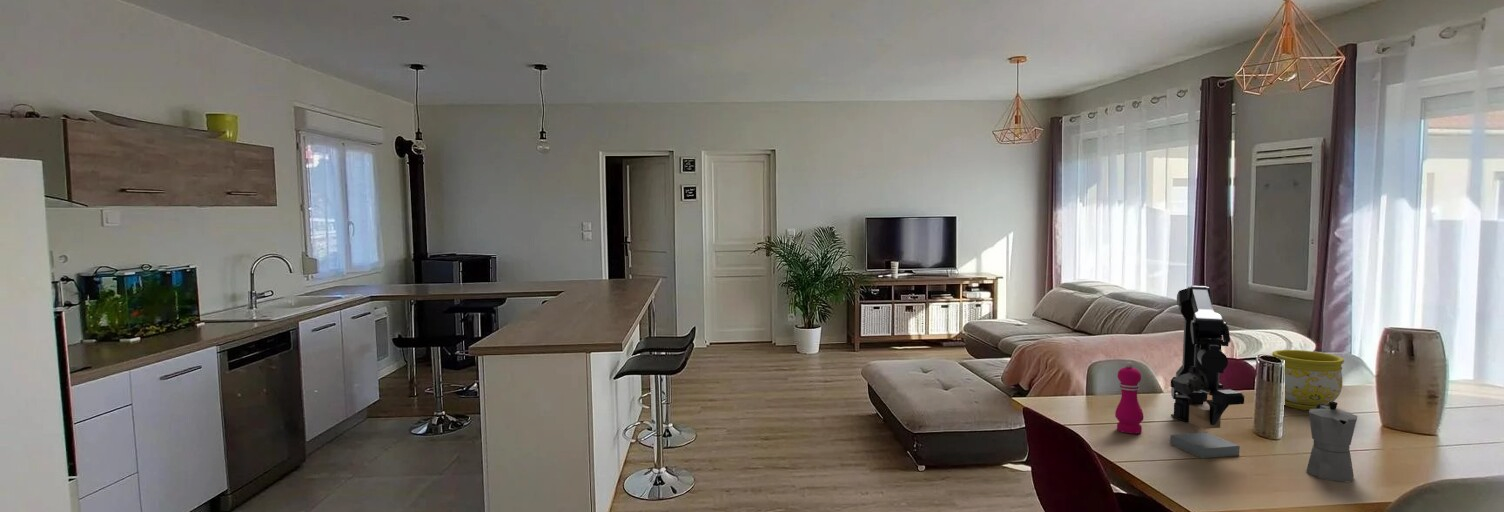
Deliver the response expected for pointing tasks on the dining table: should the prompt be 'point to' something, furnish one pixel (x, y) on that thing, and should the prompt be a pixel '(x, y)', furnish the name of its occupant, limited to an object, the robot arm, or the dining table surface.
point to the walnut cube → (1201, 416)
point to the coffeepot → (1331, 443)
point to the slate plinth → (1204, 445)
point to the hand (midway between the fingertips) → (1204, 421)
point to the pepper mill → (1129, 401)
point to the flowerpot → (1310, 378)
